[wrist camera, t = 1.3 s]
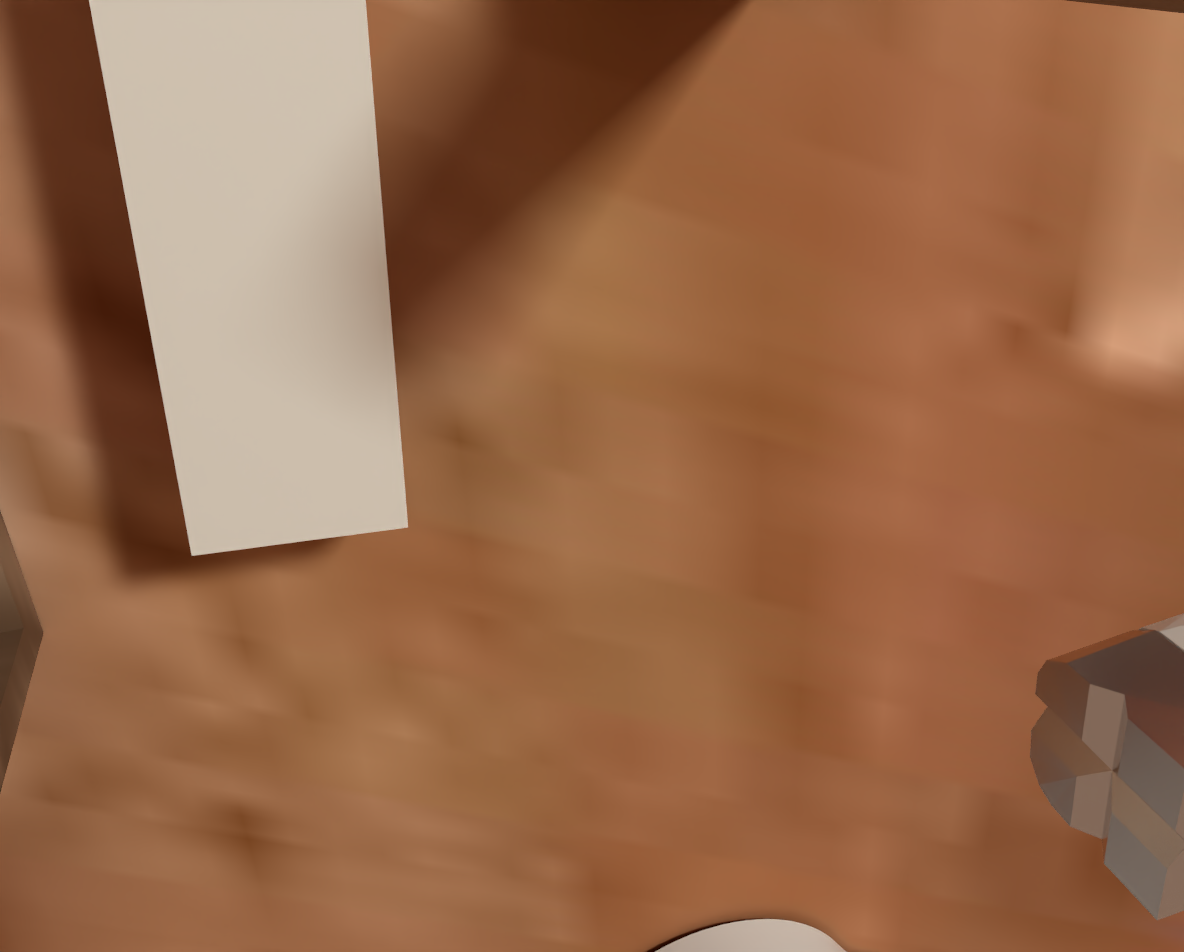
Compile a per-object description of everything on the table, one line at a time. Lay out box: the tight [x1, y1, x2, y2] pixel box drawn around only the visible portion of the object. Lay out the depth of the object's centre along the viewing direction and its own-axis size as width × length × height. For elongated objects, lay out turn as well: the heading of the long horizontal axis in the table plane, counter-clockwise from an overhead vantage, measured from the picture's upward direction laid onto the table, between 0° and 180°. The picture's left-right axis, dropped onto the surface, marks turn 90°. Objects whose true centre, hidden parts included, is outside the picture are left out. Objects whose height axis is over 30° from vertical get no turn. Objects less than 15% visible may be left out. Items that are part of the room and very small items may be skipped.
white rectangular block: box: [89, 0, 408, 556], centre depth 29 cm, size 20×6×4 cm, turn 0°
